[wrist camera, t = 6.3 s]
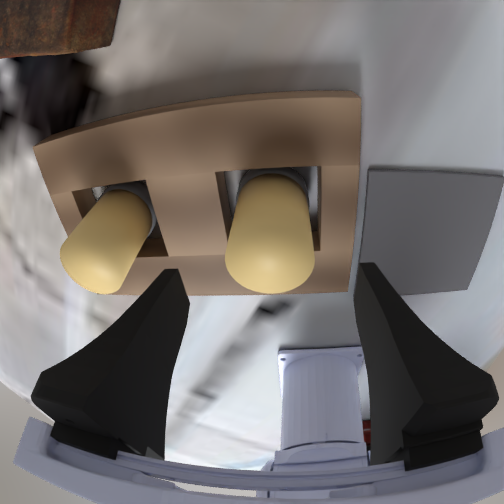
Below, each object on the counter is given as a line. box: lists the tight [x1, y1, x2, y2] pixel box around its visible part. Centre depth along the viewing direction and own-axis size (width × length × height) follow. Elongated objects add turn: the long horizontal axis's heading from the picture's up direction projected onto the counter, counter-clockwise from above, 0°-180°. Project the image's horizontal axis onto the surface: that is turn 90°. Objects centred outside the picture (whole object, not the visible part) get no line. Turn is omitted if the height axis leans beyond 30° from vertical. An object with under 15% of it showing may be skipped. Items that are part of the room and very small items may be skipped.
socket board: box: [33, 90, 361, 296], centre depth 18 cm, size 12×18×2 cm, turn 96°
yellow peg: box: [225, 167, 315, 294], centre depth 16 cm, size 4×4×6 cm
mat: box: [354, 169, 504, 295], centre depth 19 cm, size 10×10×1 cm
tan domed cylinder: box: [60, 181, 157, 294], centre depth 17 cm, size 4×4×6 cm
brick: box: [0, 0, 120, 59], centre depth 9 cm, size 11×4×5 cm, turn 76°
